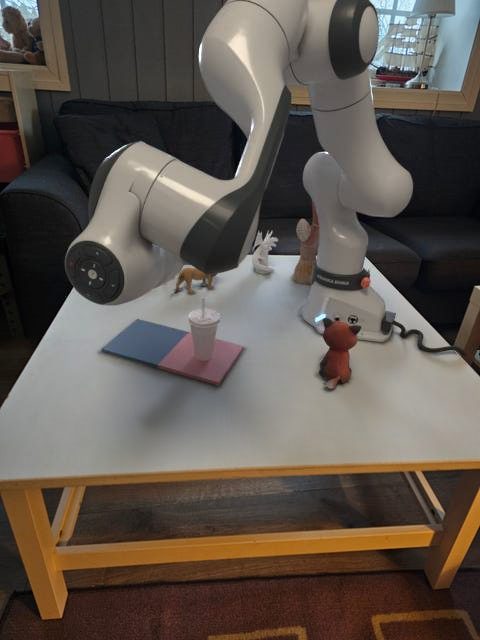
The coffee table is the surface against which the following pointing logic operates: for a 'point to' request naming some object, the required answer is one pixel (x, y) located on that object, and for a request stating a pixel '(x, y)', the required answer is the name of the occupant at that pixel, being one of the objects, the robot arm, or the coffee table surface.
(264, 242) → the figurine
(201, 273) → the lion figurine
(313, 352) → the coffee table surface
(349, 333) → the stuffed fox
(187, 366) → the board
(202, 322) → the smoothie
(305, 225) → the vase
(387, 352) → the coffee table surface
